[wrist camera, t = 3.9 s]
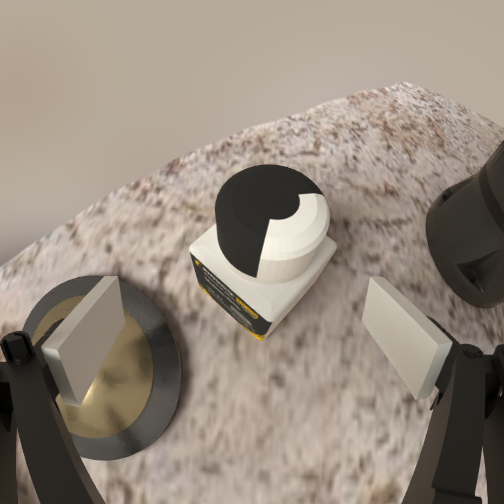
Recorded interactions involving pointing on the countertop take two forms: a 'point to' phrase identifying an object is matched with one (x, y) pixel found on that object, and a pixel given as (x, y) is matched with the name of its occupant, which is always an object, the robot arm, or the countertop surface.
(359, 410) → the countertop surface
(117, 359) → the plate
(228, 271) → the medicine bottle
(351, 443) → the countertop surface
